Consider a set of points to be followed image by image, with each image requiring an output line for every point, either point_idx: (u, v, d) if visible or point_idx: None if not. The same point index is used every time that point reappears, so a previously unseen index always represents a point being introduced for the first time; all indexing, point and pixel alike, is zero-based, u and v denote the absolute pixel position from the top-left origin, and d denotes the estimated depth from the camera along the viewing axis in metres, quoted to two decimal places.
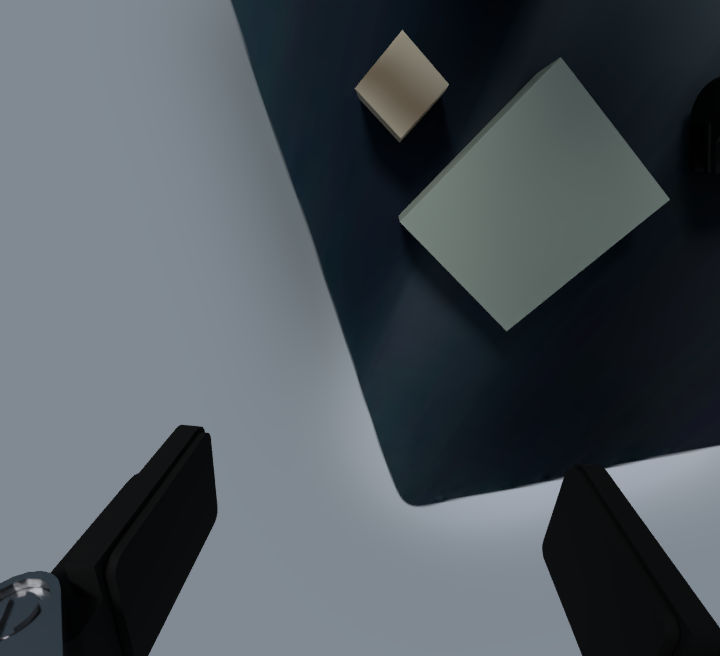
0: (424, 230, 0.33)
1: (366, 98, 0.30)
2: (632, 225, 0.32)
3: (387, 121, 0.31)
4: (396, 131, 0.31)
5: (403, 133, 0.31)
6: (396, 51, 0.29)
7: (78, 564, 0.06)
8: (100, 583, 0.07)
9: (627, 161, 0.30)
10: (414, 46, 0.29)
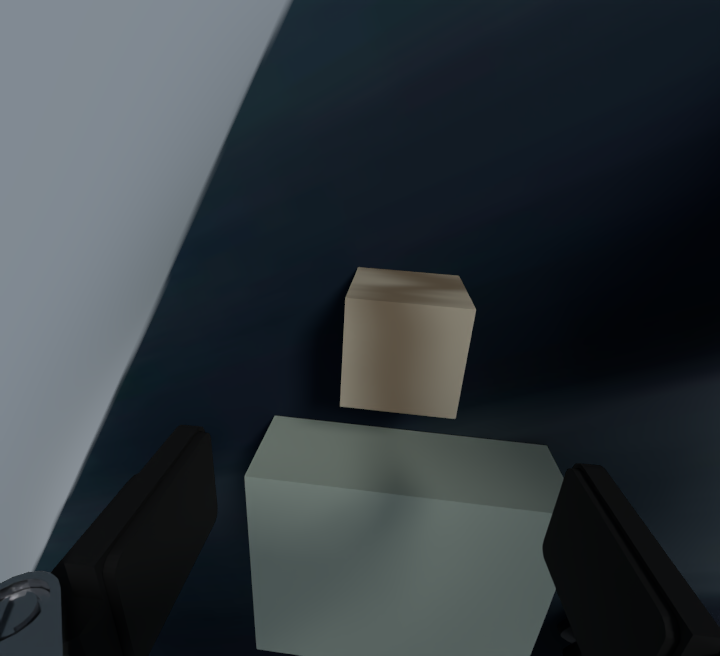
0: (265, 509, 0.20)
1: (347, 324, 0.16)
2: None
3: (344, 374, 0.17)
4: (343, 394, 0.17)
5: (348, 405, 0.17)
6: (441, 322, 0.15)
7: (78, 564, 0.06)
8: (100, 583, 0.07)
9: (523, 638, 0.22)
10: (467, 341, 0.15)
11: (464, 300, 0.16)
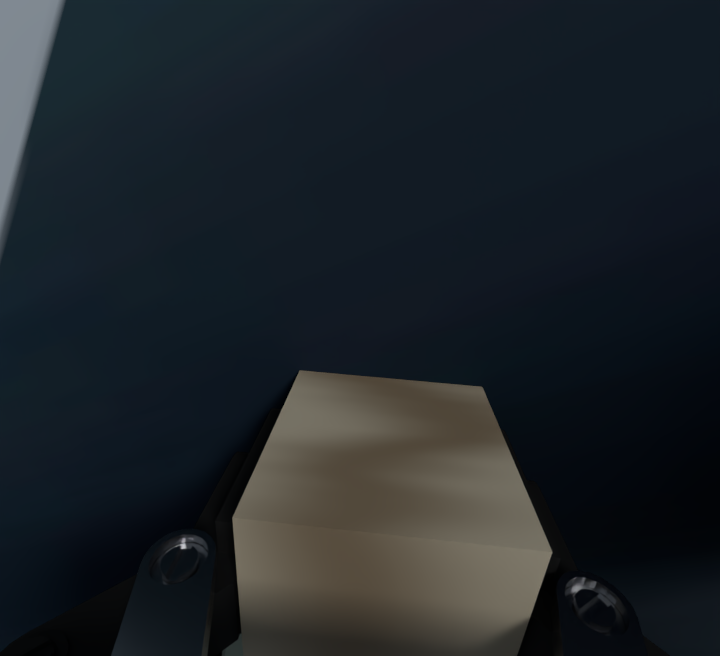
0: None
1: (243, 567, 0.07)
2: None
3: (249, 651, 0.08)
4: None
5: None
6: (467, 572, 0.06)
7: (226, 522, 0.07)
8: None
9: None
10: (526, 609, 0.07)
11: (514, 499, 0.07)
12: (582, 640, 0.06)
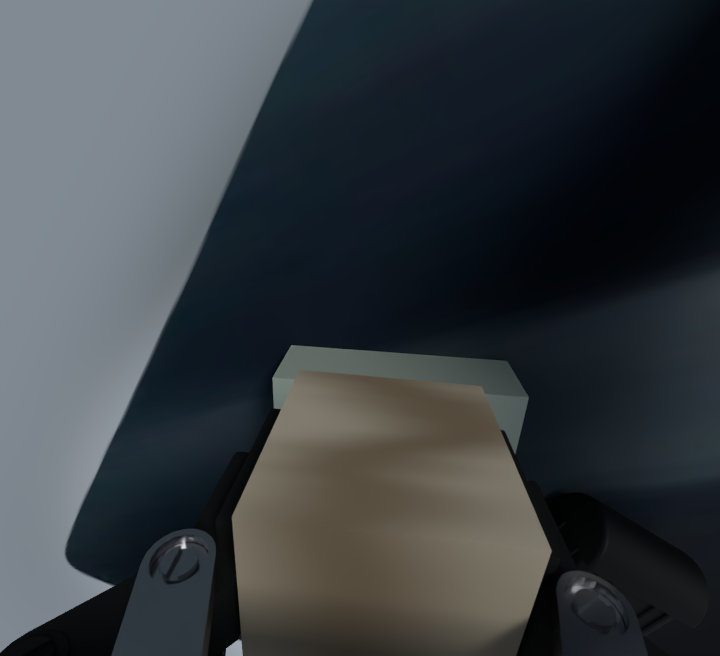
0: None
1: (242, 566, 0.07)
2: None
3: (248, 650, 0.08)
4: None
5: None
6: (467, 572, 0.06)
7: (226, 522, 0.07)
8: None
9: None
10: (525, 608, 0.07)
11: (513, 498, 0.07)
12: (582, 640, 0.06)
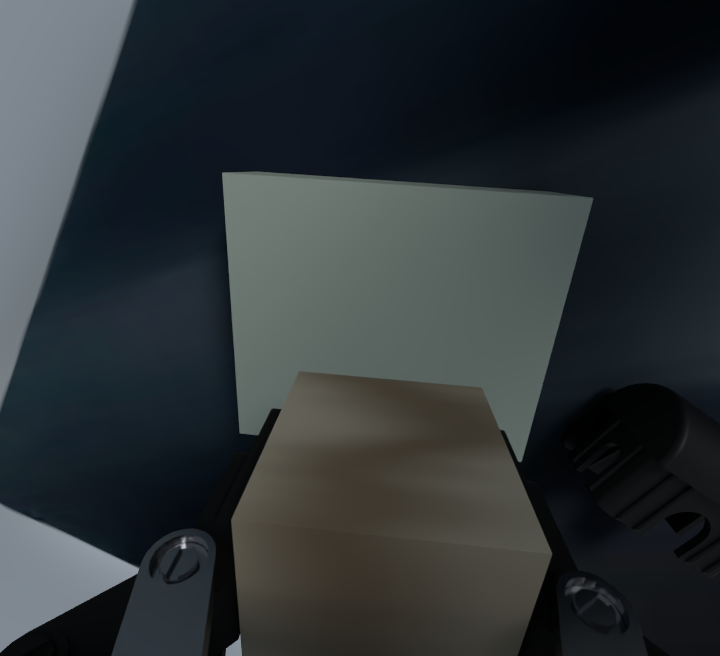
0: (245, 220, 0.18)
1: (242, 569, 0.07)
2: None
3: (248, 653, 0.07)
4: None
5: None
6: (466, 575, 0.06)
7: (226, 522, 0.07)
8: None
9: (528, 387, 0.20)
10: (526, 611, 0.07)
11: (513, 500, 0.07)
12: (582, 640, 0.06)
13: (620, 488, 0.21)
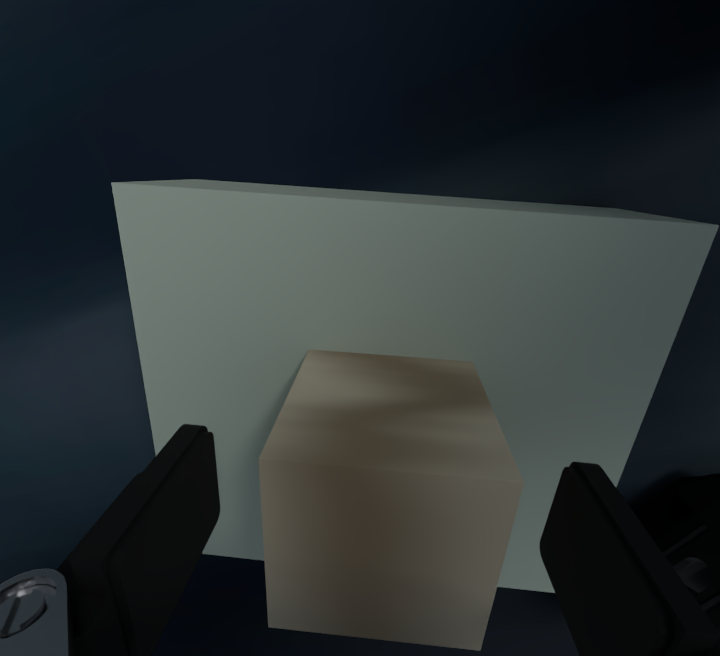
0: (155, 258, 0.11)
1: (267, 503, 0.08)
2: None
3: (270, 581, 0.09)
4: (272, 611, 0.09)
5: (284, 625, 0.09)
6: (454, 503, 0.08)
7: (84, 562, 0.06)
8: (105, 581, 0.07)
9: None
10: (505, 535, 0.08)
11: (495, 446, 0.08)
12: None
13: None
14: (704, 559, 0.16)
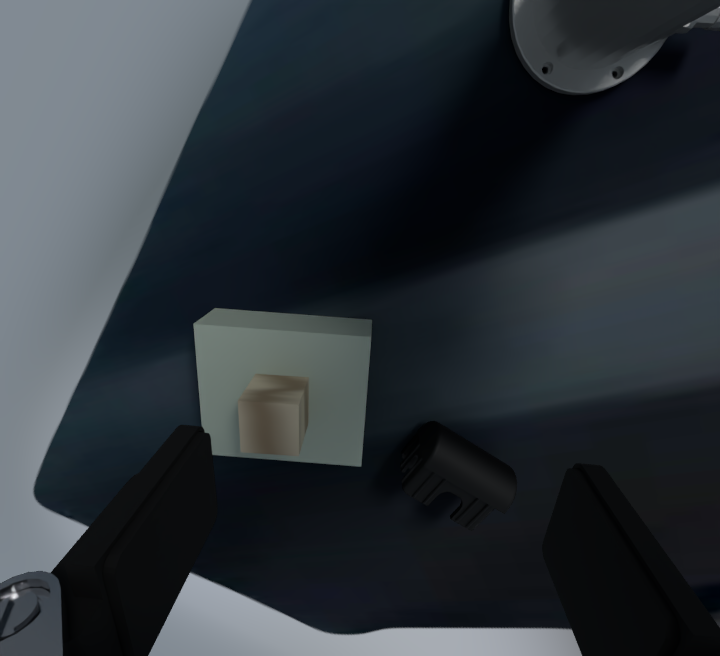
0: (205, 345, 0.36)
1: (239, 412, 0.32)
2: (330, 461, 0.40)
3: (241, 436, 0.33)
4: (241, 446, 0.33)
5: (245, 451, 0.34)
6: (284, 410, 0.32)
7: (78, 564, 0.06)
8: (100, 583, 0.07)
9: (357, 425, 0.38)
10: (297, 419, 0.32)
11: (297, 398, 0.33)
12: None
13: (412, 480, 0.39)
14: (417, 454, 0.41)
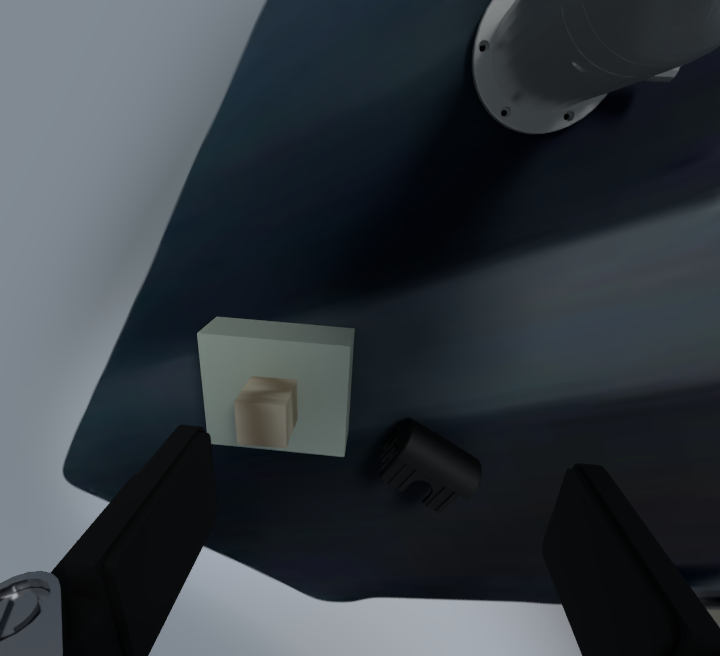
0: (207, 351, 0.42)
1: (235, 411, 0.38)
2: (317, 452, 0.45)
3: (237, 430, 0.39)
4: (238, 439, 0.39)
5: (241, 443, 0.39)
6: (273, 410, 0.38)
7: (78, 564, 0.06)
8: (100, 583, 0.07)
9: (340, 422, 0.44)
10: (284, 417, 0.38)
11: (285, 399, 0.38)
12: None
13: (388, 469, 0.45)
14: (394, 447, 0.46)
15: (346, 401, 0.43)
